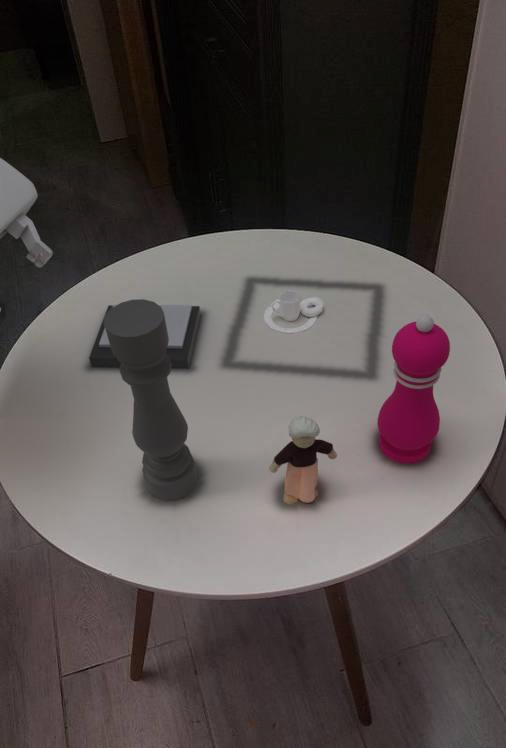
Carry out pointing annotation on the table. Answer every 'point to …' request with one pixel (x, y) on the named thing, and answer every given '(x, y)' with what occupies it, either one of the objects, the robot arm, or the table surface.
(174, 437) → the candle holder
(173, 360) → the scale
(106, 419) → the table surface
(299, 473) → the grandmother figurine
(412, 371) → the pepper mill
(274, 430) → the table surface
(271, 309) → the teacup and saucer
